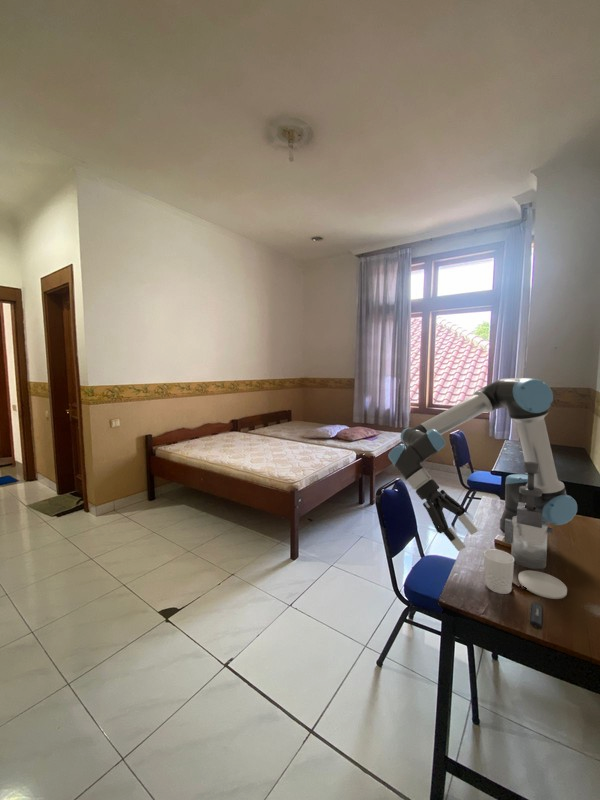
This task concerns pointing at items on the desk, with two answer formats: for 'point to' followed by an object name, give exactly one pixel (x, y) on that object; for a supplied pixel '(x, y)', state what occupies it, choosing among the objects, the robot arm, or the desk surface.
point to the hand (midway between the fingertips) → (469, 540)
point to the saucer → (542, 584)
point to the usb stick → (536, 615)
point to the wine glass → (530, 484)
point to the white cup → (498, 570)
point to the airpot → (528, 536)
